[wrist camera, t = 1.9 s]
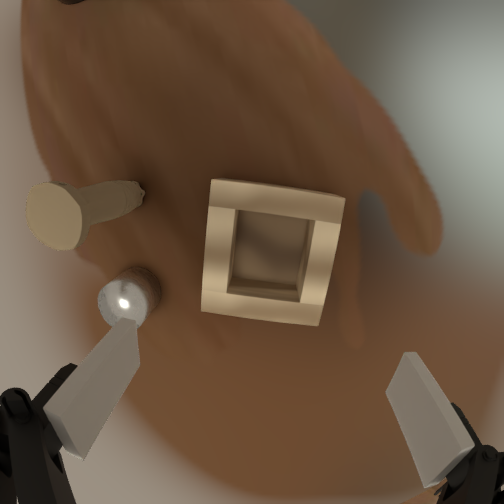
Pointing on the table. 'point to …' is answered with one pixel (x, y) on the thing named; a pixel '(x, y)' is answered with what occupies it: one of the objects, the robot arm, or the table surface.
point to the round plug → (129, 296)
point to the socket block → (269, 250)
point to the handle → (77, 209)
